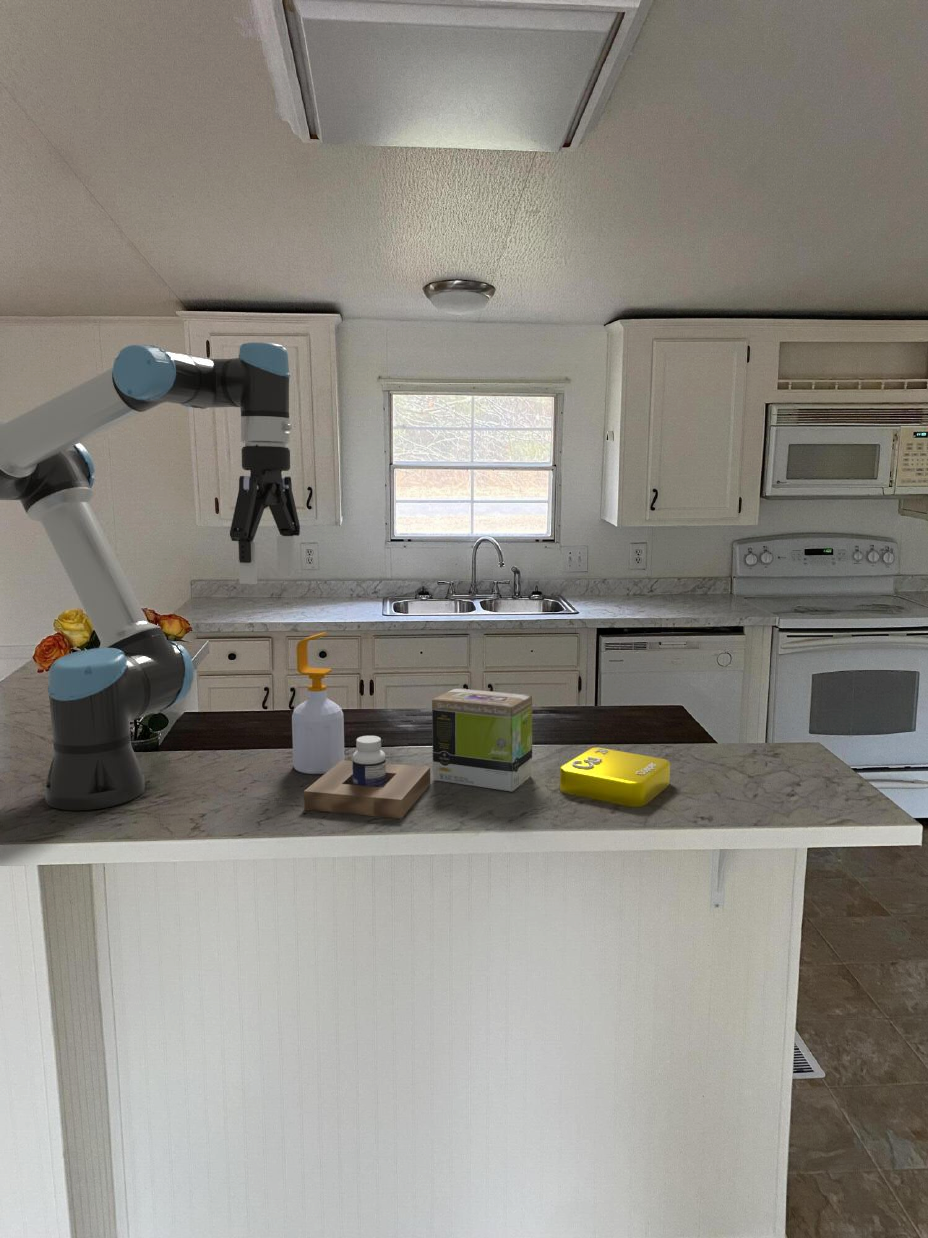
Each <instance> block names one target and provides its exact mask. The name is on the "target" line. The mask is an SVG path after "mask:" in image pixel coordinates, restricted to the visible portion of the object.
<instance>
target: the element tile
mask: <svg viewBox="0 0 928 1238" xmlns="http://www.w3.org/2000/svg"><path fill="white" fill-rule="evenodd" d="M670 777H671V762H670V761H669V760H668V759H665V758H659V757H654V756H649V755H643V754H638V753H632V752H627V751H623V750H622V751H621V750H615V749H610V748H604V747H597V746H596V747H593V748H589V749H588V750H585V752H583V753H581V754H578V755H577V756H576V757H574V758H572V759H571V760H569V761H568V762H566V763H564V764H563V765H561V766H560V768H559V791H560V792H562V793H565V794H569V795H572V796H573V795H574V796H578V797H583V798H586V799H592V800H596V801H602V802H606V803H611V804H615V805H620V806H623V807H624V806H625V807H629V808H630V807H633V808H641V807H644V806H646V805H647V804H648V803H650V802H651V801H652V800H653V799H654V798H655V797H657V796H658V795H659V794H661V793H662V792H663V791H664V790H665V789H666V788H668V786H670V783H671V782H670V779H671V778H670Z"/></svg>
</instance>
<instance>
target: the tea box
mask: <svg viewBox="0 0 928 1238" xmlns="http://www.w3.org/2000/svg"><path fill="white" fill-rule="evenodd" d="M431 713H432V714H431V718H432V719H431V721H432V722H431V726H432V729H431V730H432V734H431V735H432V741H431V742H432V774H433V775H432V779H433V781H438V782H445V783H453V784H457V785H464V786H465V785H466V786H473V787H479V788H487V789H491V790H492V789H493V790H499V791H505V792H511V793H513V792H514V791H515V790H516V789H517V788H519V787H520V786H521V785H523V784H524V783H525V782H526V781H527V780H528V779H530V778H531V777H532V774H533V773H532V772H533V695H532V694H526V693H514V692H513V693H512V692H503V691H502V692H501V691H493V690H490V691H489V690H482V689H481V690H480V689H471V688H470V689H467V688H460V687H458V688H457V687H456V688H453V689H452V690H449V691H447V692H445V693H442V694H440V695H438V696H436V697H434V698H432V700H431Z"/></svg>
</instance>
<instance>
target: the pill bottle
mask: <svg viewBox="0 0 928 1238" xmlns="http://www.w3.org/2000/svg"><path fill="white" fill-rule="evenodd" d="M355 746H356V749H357V750H356V751H355V752H353V753H352V757H351V758H352V760H351V761H352V769H353V785H360V786H371V787H384V786H385V785H386V764H387V761H386V753H385V752H384V751H383V750H382V749H381V748H382V739H381V737H380V736H377V735H362V736H359V737H357V738H356V745H355Z"/></svg>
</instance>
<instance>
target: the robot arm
mask: <svg viewBox="0 0 928 1238" xmlns="http://www.w3.org/2000/svg"><path fill="white" fill-rule="evenodd" d="M238 351H239V352H238V357H236V358H234V357H233V358H210V357H209V358H208V357H203V356H198V355H193V354H187V353H182V352H179V351H173V350H169V349H165V348H160V347H158V346H155V345H146V344H145V345H143V344H131V345H127V346H125V347H123V348H122V349H120V351H118V353H119V354H118V355H117V357H116V358H115V359H114V362H113V366H112V367H111V368H109V369H106V370H105V371H102V372H101V373H99V374H97V375H96V376H95V375H94V376H93V377H91V378H90V379H88V380H85V381H83V382H81V383H80V384H78V385H75V386H74V387H72V388H71V389H68V390H66V391H64V392H62V393H60V394H58V395H57V396H54V397H52V398H51V399H49V400H46V401H45V402H43V403H41V404H39V405H37V406H35V407H33V408H31V409H29V410H27V411H25V412H23V413H21V414H19V415H18V416H16V417H14V418H11V419H10V420H5V419H0V501H4V500H5V501H20V503H21V505H22V507H23V509H24V511H25V513H26V515H27V517H28V518H29V519H31V520H33V521H36V522H39V523H40V524H42V526H43V528H44V531H45V533H46V535H47V537H48V539H49V541H50V543H51V545H52V547H53V549H54V551H55V553H56V555H57V556H58V557H57V558H59V561H60V563H61V565H62V567H63V570H64V571H65V573H66V575H67V577H68V579H69V581H70V582H71V585H72V586H73V590H74V591H75V593H76V595H77V597H78V599H79V601H80V603H81V605H82V607H83V609H84V611H85V614H86V615H87V618H88V619H89V621H90V623H91V626H92V627H93V628H92V629H93V630H94V632H95V633H96V636H97V638H98V640H99V642H100V645H99V647H96V648H89V649H87V650H78V651H75V652H71V653H68V654H65V655H63V656H61V657H60V658H57V659H56V660H55V661H54V662H53V663H52V664H51V665H50V666H49V667H50V668H49V670H48V685H47V692H48V696H49V697H48V699H49V709H50V718H51V719H50V720H51V722H50V723H51V731H52V742H53V744H52V745H53V757H52V760H51V763H50V766H49V767H50V768H49V770H48V773H47V778H46V782H45V786H44V798H45V803H46V805H48V806H49V807H51V808H54V809H59V810H61V811H63V810H64V811H90V810H97V809H98V810H99V809H105V808H110V807H114V806H118V805H121V804H124V803H127V802H130V801H132V800H134V799H136V798H138V797H140V796H141V795H142V794H143V793H144V792H145V790H146V787H145V785H146V784H145V783H146V782H145V776H144V775H145V774H144V772H143V771H142V768H141V766H140V764H139V761H138V758H137V756H136V753H135V751H134V748H133V747H132V741H131V724H130V722H131V721H134V720H137V719H140V718H143V717H145V716H148V715H151V714H153V713H156V712H162V711H165V710H167V709H169V708H171V707H173V706H174V705H176V704H179V703H180V702H182V701H183V700H184V699H185V698H186V697H187V696H188V694H189V692H190V691H191V689H192V684H193V682H194V676H195V670H194V669H195V668H194V664H193V660H192V657H191V656H190V653H189V652H188V650H187V649H186V648H185V647H184V646H183V645H182V644H179V643H177V642H176V641H173V640H168V639H167V638H166V637H167V636H166V635H165V634H164V632H163V629H162V627H161V626H159V625H156V624H154V623H151V622H149V621H148V619H147V616H145V613H144V611H143V609H142V607H141V605H140V603H139V601H138V599H137V597H136V595H135V593H134V591H133V589H132V587H131V585H130V582H129V581H128V579H127V577H126V575H125V573H124V571H123V569H122V566H121V565H120V563H119V561H118V559H117V557H116V555H115V553H114V551H113V548H112V547H111V544H110V542H109V541H108V539H107V536H106V535H105V532H104V530H103V528H102V526H101V525H100V523H99V521H98V519H97V517H96V515H95V513H94V511H93V508H92V507H91V501H92V500H93V497H94V491H93V489H92V487H93V486H94V482H95V477H94V476H93V475H94V474H95V472H96V471H95V470H96V469H95V466H94V462H93V459H92V457H91V455H90V453H89V452H88V449H86V447H85V446H84V445H83V444H81V443H82V442H84V441H86V440H88V439H90V438H92V437H94V436H97V435H99V434H101V433H103V432H104V431H107V430H109V429H111V428H113V427H115V426H118V425H119V424H121V423H123V422H125V421H127V420H129V419H131V418H133V417H136V416H138V415H140V414H142V413H144V412H146V411H149V410H151V409H153V408H155V407H157V406H158V405H161V404H165V403H170V404H171V403H172V404H180V405H181V406H183V407H184V408H194V409H200V410H205V409H207V408H209V409H210V408H212V409H213V408H240V441H241V442H242V443H243V444H244V446H242V448H241V468H242V470H244V471H250V475H240V476H239V479H238V492H237V498H236V501H235V502H236V503H235V505H234V506H235V507H234V510H233V511H234V513H233V516H232V520H231V525H230V530H229V536H230V539H231V541H232V542H237V544H238V545H237V546H238V580H239V581H238V583H239V584H241V585H242V584H244V585H258V546H257V545H258V541H254V539H255V537H256V534H257V531H258V528H259V526H260V525H259V524H260V522H261V519H262V516H263V515H264V514H263V513H264V511H265V509H267V508H268V507H269V509H270V513H271V515H272V517H273V521H274V522H275V524H276V528H277V530H278V532H279V535H276V546H277V547H276V554H277V556H276V557H277V560H276V561H277V575H280V576H281V575H284V576H294V575H295V536H296V537H297V536H298V537H299V536H300V534H301V525H300V520H299V516H298V512H297V507H296V501H295V497H294V493H293V486H292V485H293V484H292V477H291V476H283V475H282V472H287V471H290V469H291V449H290V448H289V447H287V445H288V444H289V443H290V442H291V441H290V435H291V434H290V431H291V430H292V425H291V424H290V378H291V373H290V363H289V353H288V350H287V348H286V347H284V346H283V345H281V344H276V343H272V342H246V343H242V344H241V345H240V346H239V350H238Z"/></svg>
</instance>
